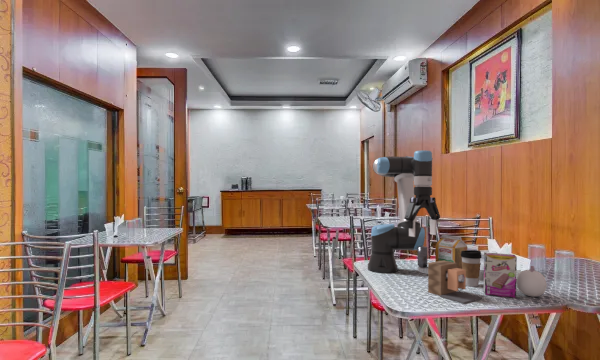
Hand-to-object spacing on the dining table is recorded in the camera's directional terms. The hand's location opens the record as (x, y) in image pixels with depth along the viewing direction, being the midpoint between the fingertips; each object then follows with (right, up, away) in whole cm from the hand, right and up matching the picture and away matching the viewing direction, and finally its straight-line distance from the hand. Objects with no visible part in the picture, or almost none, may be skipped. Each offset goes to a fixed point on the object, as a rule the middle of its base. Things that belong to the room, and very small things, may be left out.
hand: (422, 235), depth 157 cm
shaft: (+4, -16, -7) cm, 18 cm away
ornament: (+39, -22, -12) cm, 47 cm away
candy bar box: (+27, -22, -12) cm, 37 cm away
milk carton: (+22, -23, +23) cm, 39 cm away
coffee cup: (+22, -23, +3) cm, 32 cm away
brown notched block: (+5, -22, -9) cm, 24 cm away
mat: (+10, -22, -16) cm, 29 cm away
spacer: (+9, -15, -14) cm, 22 cm away
